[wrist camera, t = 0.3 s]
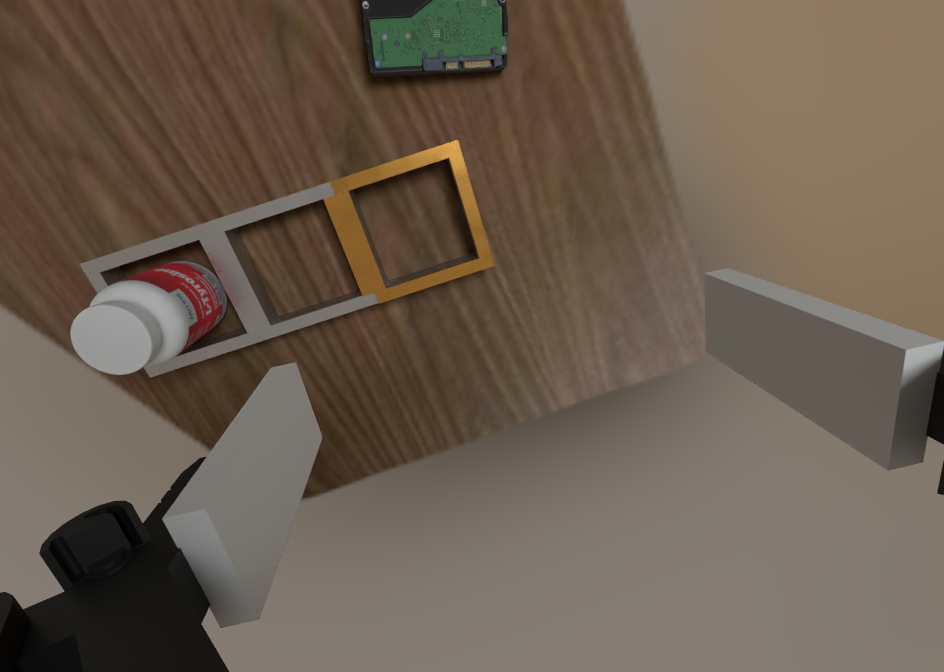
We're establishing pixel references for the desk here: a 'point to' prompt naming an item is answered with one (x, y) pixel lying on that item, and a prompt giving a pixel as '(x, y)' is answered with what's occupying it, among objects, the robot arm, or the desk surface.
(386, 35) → the disk drive
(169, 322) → the pill bottle
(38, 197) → the desk surface
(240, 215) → the socket rail
